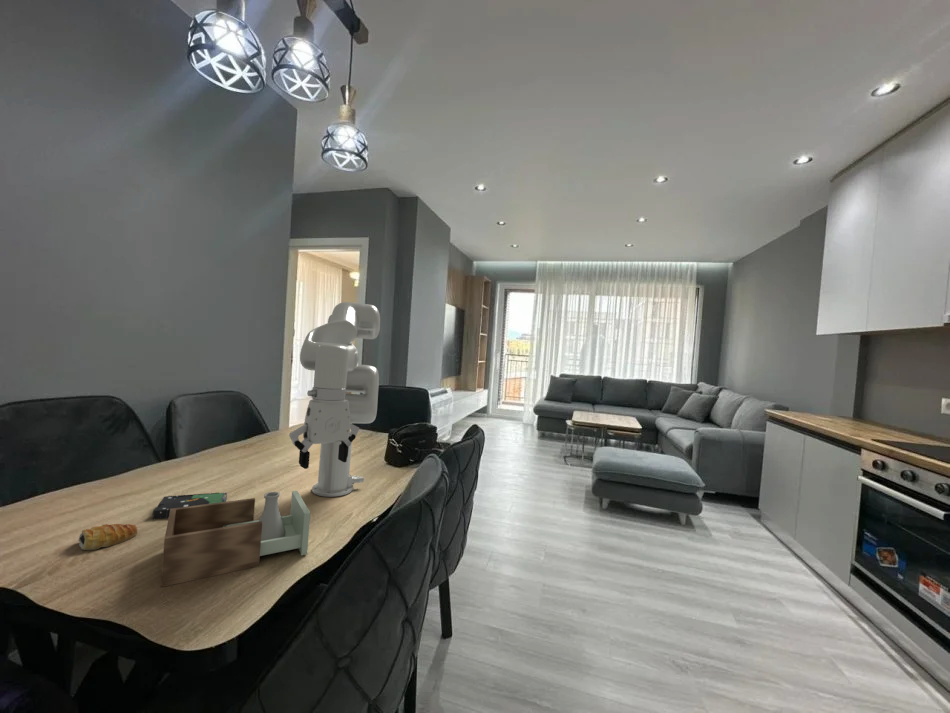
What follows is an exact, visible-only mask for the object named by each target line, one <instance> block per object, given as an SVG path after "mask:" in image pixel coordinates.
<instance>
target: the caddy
mask: <svg viewBox="0 0 950 713" xmlns="http://www.w3.org/2000/svg"><path fill="white" fill-rule="evenodd" d="M255 505H256V498H255V497H253V498H252V497H251V498H245V499H238V500H230V501H229V500H228V501H226V502H220V503H212V504H204V505H196V506H188V507H181V508H173V509H170V513H169V518H167V524H166V529H165V535H164V541H163V550H162V551H163V553H162V565H161V579H160V580H161V581H160V588H163V587H167V586H168V587H169V586H172V585H177V584H181V583H186V582H191V581H196V580H200V579H205V578H208V577H214V576H219V575H223V574H228V573H233V572H237V571H238V572H239V571H241V570H246V569H252V568H256V567H259V566H260V557H261V556H260V546H261V533H262V521H259V522H253V523H247V524H241V525H234V526H228V527H223V526H224V525H230V524H236V523H243V522H249V521H255V520H254V518H255V517H254V516H255Z"/></svg>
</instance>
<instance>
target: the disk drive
mask: <svg viewBox="0 0 950 713" xmlns="http://www.w3.org/2000/svg"><path fill="white" fill-rule="evenodd" d="M227 498H228V492H211V493H195V494H181V495H178V494H177V495H168V496H163V498H162V499H161V500H160V502H159V503H158V505H157V507H155V508H154V509H153V511H152V520H160V519H161V520H162V519H168V518H169V513H170V509H173V508H181V507H188V506H196V505H204V504H212V503H220V502H227V500H228V499H227Z"/></svg>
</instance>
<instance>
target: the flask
mask: <svg viewBox="0 0 950 713" xmlns="http://www.w3.org/2000/svg"><path fill="white" fill-rule="evenodd" d="M263 497H264V499H265V500H264V506H263V510H262V513H261V515H260V517H259V519H258V520H259V521H262V533H261V541H265V540H270V539H275V538H281V537H285V532H286V531H285V528H284V525H283V522H282V519H281V513H280V509H279V497H280V492H279V491H269V492H266V493H264V495H263Z"/></svg>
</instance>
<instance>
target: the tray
mask: <svg viewBox="0 0 950 713" xmlns="http://www.w3.org/2000/svg"><path fill="white" fill-rule="evenodd" d="M289 513H290V514H289V515H288V514H287V515H282V516H281V515H280V516H281V519H282V522H283V525H284V528H285V531H286V532H285V537H281V538H275V539H270V540H265V541H261V546H260V557H262V556H266V555H271V554H272V555H273V554H276V553H281V552H286V551H291V550H296V549H298V551H299V553H300V555H301V556H305V555H307V554H308V549H309V547H308V546H309V538H310V537H309V536H310V535H309V534H310V523H311V511H310V510H309V508H308V506H307V505H306V503H305V501H304V500H303V498H302V496H301V495H300V492H299V491H298V490H292V491H291V500H290V512H289ZM253 522H259V519H256V520H253V521H249V522H243V523H236V524H230V525H224V526H223V527H228V526H234V525H241V524H247V523H253Z"/></svg>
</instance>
